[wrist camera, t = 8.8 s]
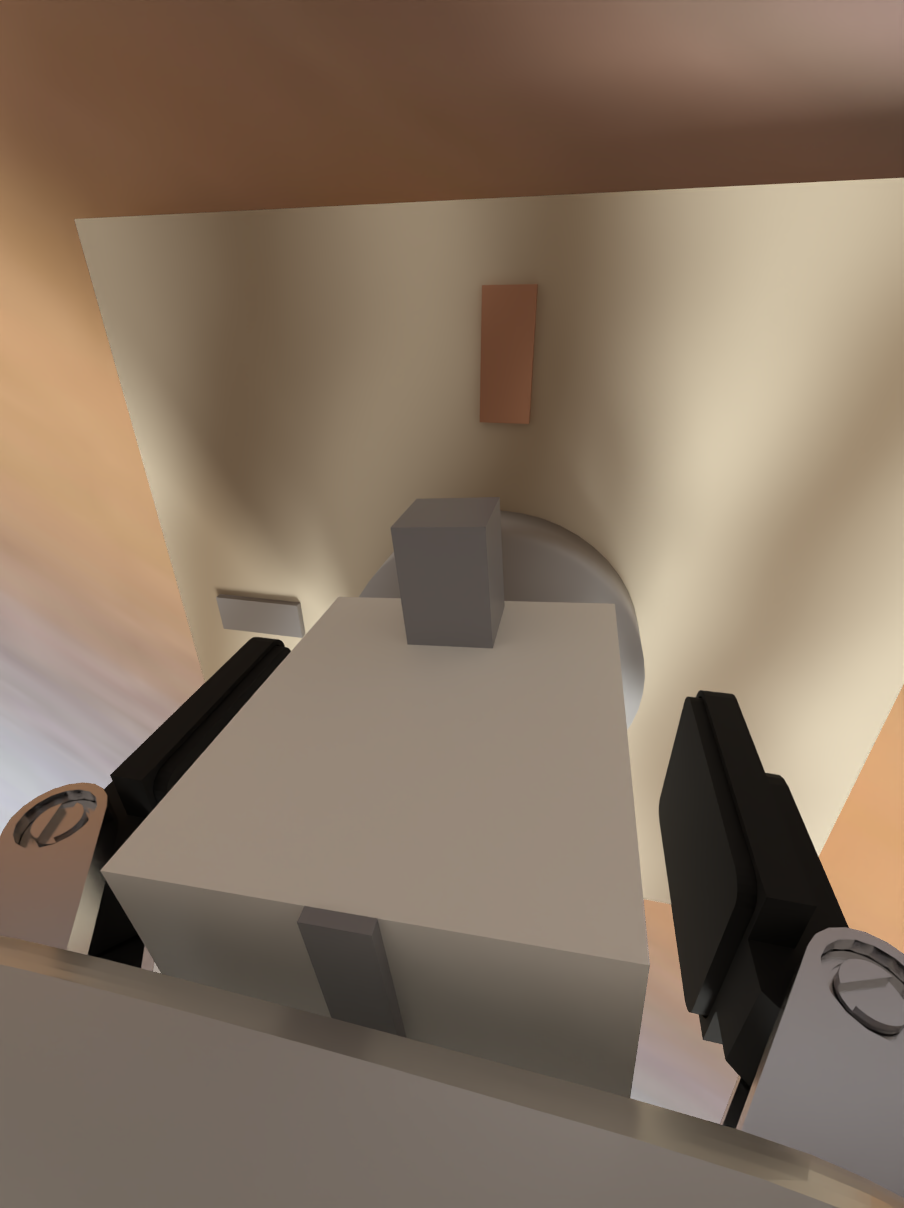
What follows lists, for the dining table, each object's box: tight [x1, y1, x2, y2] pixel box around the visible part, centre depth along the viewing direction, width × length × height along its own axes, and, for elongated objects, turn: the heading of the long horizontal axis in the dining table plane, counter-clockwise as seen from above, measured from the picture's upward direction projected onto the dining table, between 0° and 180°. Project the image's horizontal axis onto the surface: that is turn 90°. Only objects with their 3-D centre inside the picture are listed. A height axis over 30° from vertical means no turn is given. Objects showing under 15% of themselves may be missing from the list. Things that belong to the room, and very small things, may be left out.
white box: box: [100, 497, 650, 1098], centre depth 8 cm, size 7×5×6 cm
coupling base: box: [74, 178, 904, 904], centre depth 13 cm, size 18×18×4 cm
